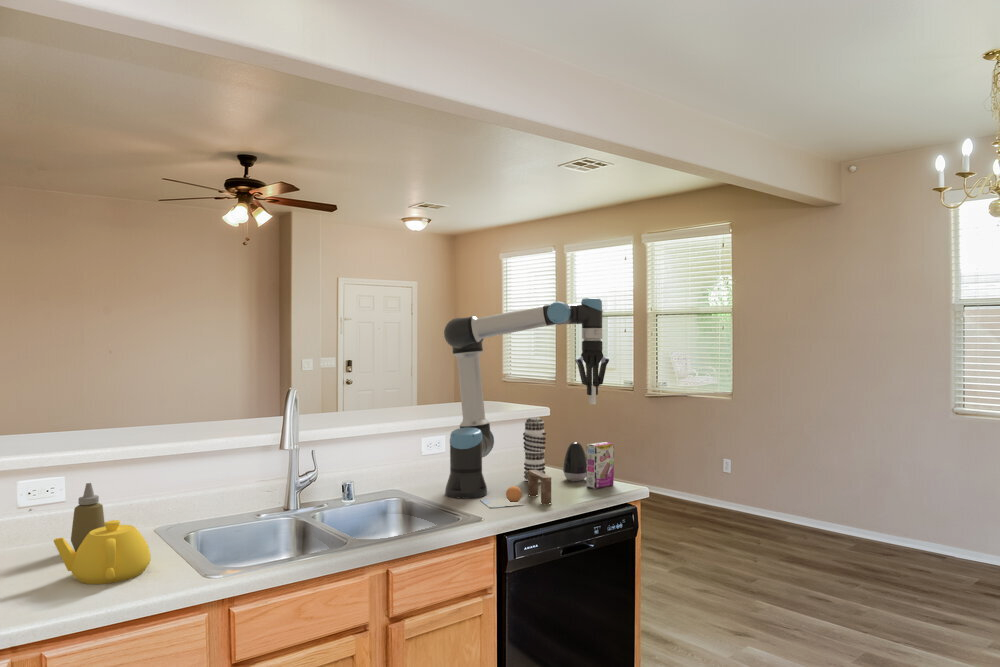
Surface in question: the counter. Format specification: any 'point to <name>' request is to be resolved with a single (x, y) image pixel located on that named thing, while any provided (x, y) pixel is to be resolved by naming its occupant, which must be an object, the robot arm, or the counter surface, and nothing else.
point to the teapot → (107, 554)
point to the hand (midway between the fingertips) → (592, 403)
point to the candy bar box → (600, 465)
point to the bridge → (545, 485)
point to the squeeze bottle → (86, 516)
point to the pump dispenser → (575, 462)
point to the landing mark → (488, 502)
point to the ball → (513, 494)
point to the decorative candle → (534, 445)
